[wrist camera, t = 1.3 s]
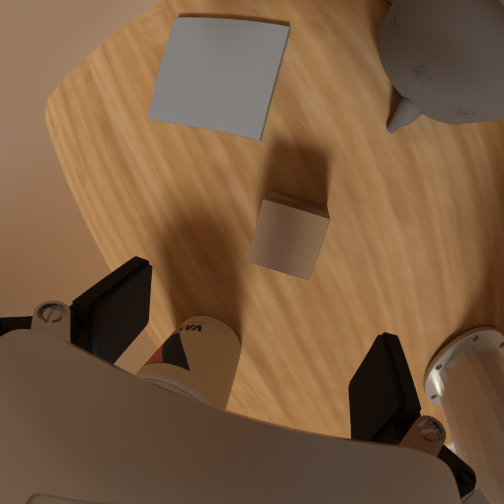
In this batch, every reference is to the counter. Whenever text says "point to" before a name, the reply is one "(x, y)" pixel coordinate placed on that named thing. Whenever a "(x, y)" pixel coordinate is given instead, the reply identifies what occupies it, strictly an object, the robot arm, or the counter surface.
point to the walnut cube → (289, 234)
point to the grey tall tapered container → (445, 59)
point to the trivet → (219, 74)
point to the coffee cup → (197, 361)
